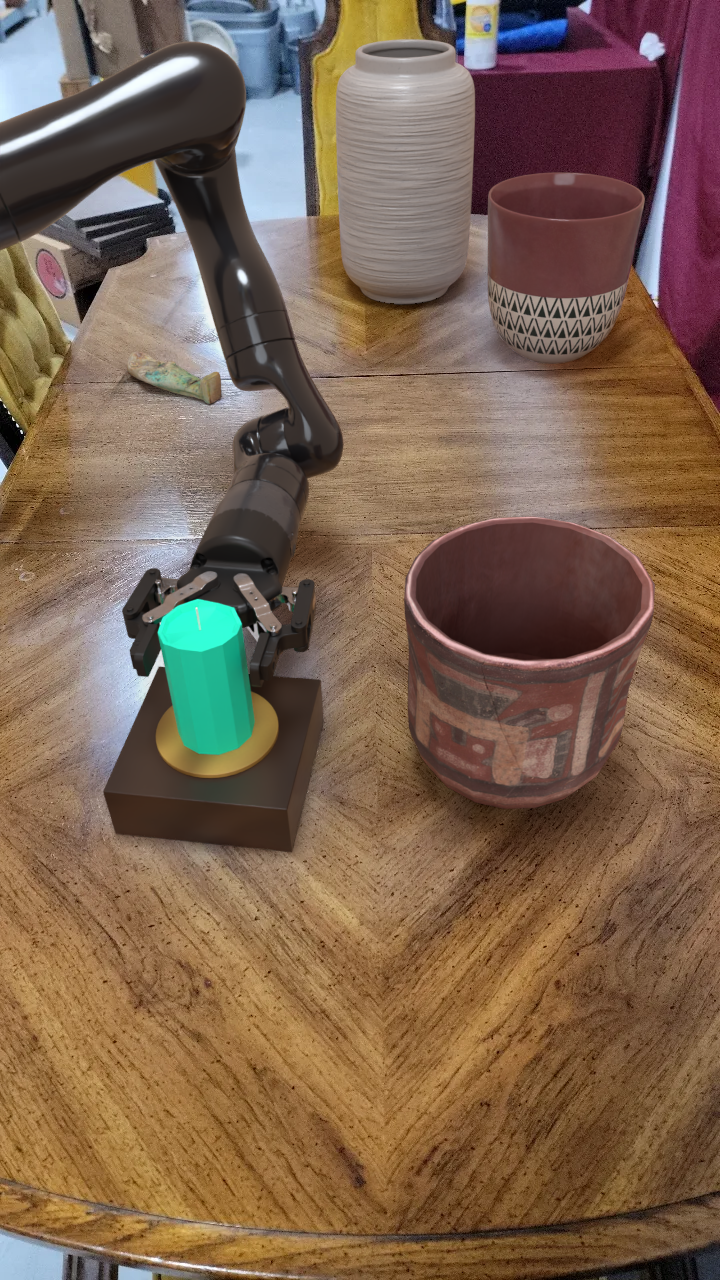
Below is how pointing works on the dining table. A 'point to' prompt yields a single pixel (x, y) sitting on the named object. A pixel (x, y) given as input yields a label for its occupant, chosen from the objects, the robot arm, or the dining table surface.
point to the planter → (559, 261)
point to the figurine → (174, 377)
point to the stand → (219, 772)
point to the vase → (405, 169)
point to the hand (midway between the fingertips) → (197, 673)
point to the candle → (207, 676)
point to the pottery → (522, 656)
